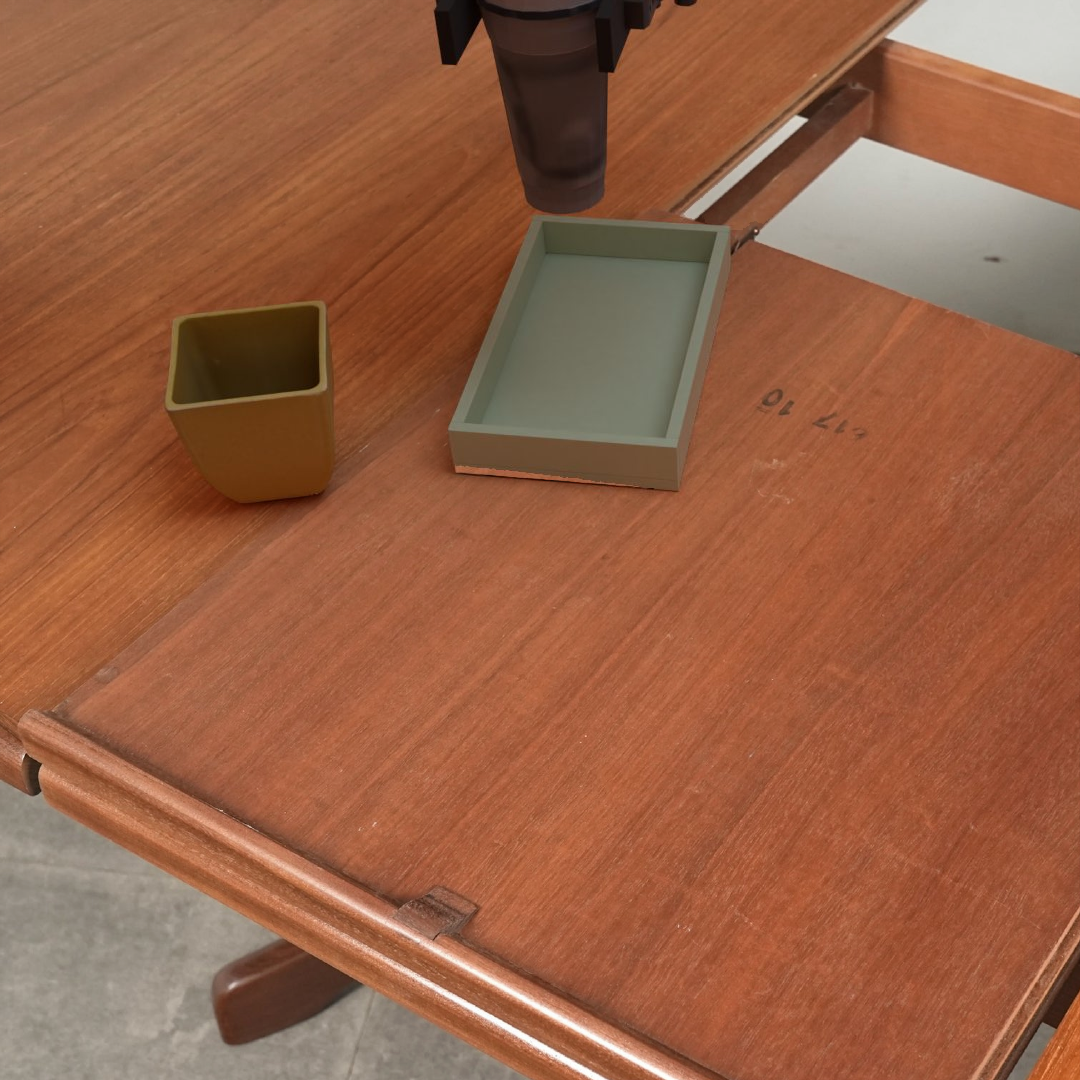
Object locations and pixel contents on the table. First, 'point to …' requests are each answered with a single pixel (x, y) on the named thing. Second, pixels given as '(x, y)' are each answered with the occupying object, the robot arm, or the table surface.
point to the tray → (596, 352)
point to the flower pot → (255, 399)
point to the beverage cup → (552, 98)
